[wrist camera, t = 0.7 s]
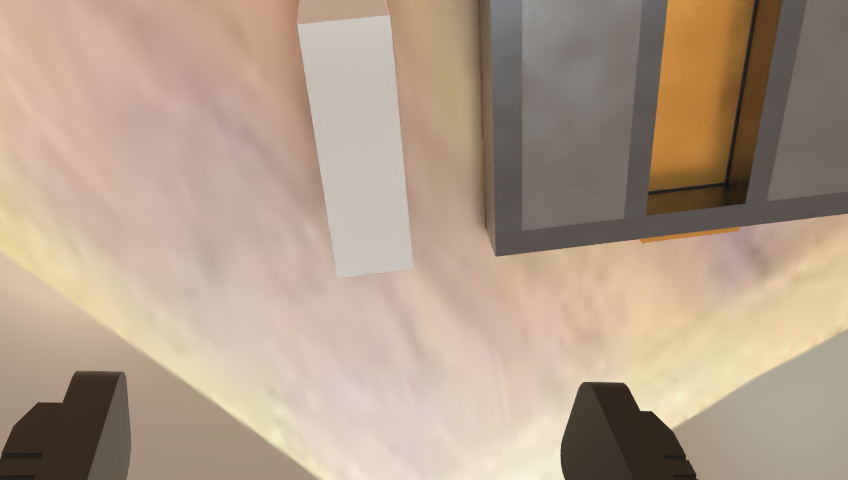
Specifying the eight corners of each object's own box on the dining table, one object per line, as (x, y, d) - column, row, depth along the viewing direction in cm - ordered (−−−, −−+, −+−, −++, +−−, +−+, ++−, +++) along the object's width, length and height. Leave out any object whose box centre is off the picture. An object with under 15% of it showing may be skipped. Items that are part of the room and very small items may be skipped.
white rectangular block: (378, -29, 30) (390, 15, 25) (399, 195, 35) (413, 269, 30) (300, -22, 30) (297, 24, 24) (334, 202, 35) (337, 278, 30)
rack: (937, -142, 30) (985, -135, 28) (850, 189, 38) (881, 214, 36) (476, -99, 29) (488, -88, 27) (485, 233, 37) (495, 262, 34)
